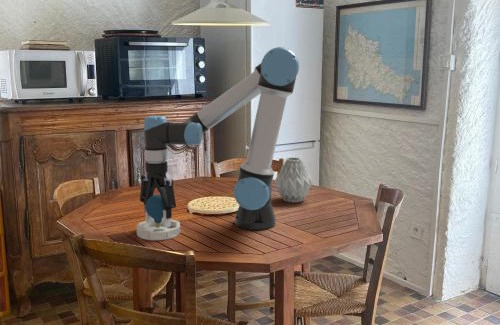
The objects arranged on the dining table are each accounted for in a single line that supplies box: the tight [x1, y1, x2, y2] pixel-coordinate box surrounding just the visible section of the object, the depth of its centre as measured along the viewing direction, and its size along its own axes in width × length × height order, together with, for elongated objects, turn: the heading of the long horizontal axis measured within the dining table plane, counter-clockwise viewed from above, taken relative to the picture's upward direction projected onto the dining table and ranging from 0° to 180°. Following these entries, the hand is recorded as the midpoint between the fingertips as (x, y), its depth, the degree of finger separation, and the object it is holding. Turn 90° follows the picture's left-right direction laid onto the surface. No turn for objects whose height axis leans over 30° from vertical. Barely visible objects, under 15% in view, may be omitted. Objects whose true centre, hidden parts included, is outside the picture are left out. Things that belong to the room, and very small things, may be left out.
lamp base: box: [136, 218, 181, 241], centre depth 179 cm, size 15×15×3 cm
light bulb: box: [144, 194, 165, 228], centre depth 178 cm, size 8×8×12 cm
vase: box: [274, 157, 313, 204], centre depth 220 cm, size 16×16×18 cm
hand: (158, 224), depth 179 cm, fingers closed on light bulb, 8 cm apart
